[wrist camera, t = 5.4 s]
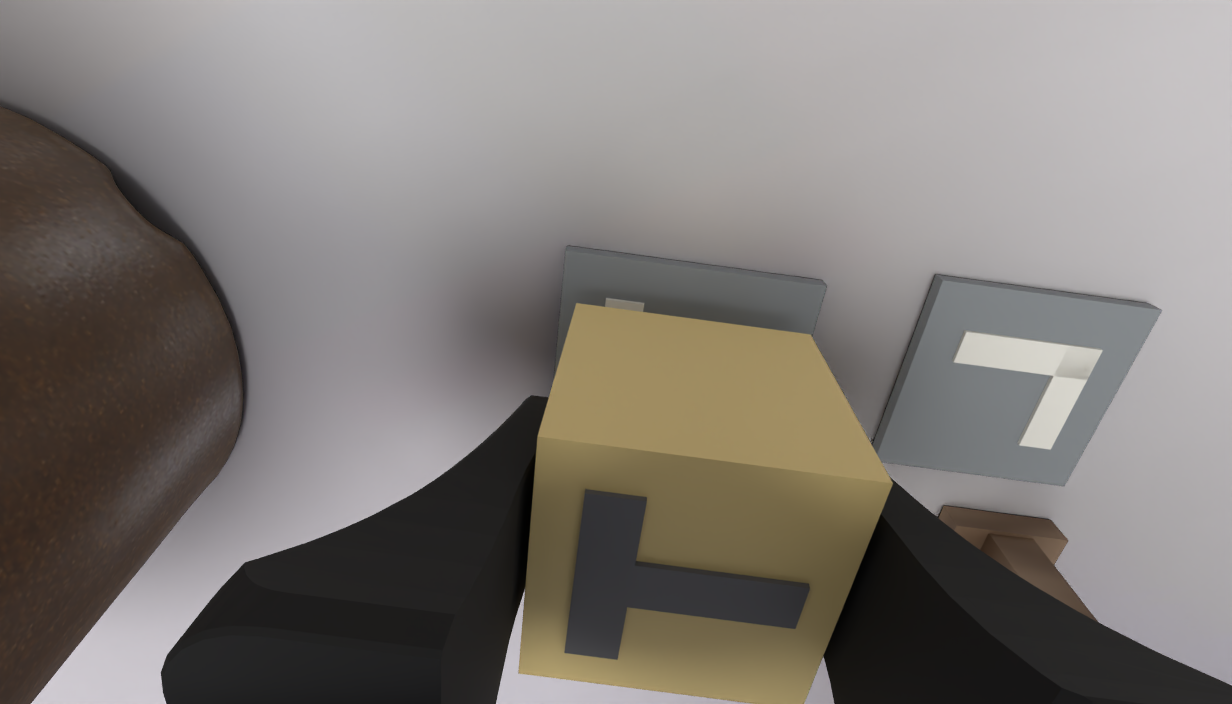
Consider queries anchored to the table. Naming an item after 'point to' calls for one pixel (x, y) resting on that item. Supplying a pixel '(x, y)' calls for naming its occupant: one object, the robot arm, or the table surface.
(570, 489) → the letter cube
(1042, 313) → the mat
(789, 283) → the mat
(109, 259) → the plant pot
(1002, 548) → the walnut screen
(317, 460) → the table surface
